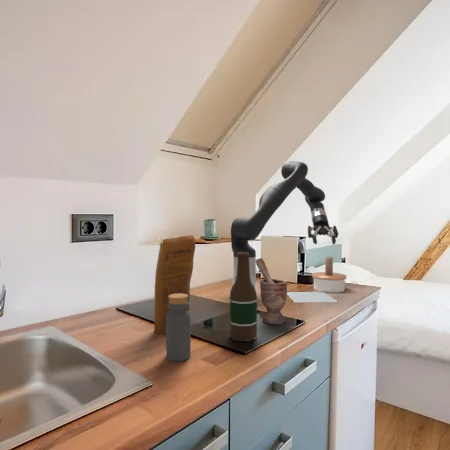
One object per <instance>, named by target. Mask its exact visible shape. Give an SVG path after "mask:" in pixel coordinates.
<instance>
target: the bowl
mask: <svg viewBox="0 0 450 450" xmlns="http://www.w3.org/2000/svg"><path fill="white" fill-rule="evenodd" d="M345 285H346V279H345V280H321V279H316V278H313V289H314V290H315V291H317V292H324V293H342V292H344V291H345V287H346V286H345Z"/></svg>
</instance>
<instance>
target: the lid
mask: <svg viewBox="0 0 450 450" xmlns="http://www.w3.org/2000/svg"><path fill="white" fill-rule="evenodd" d="M333 264H334V258H333V257H332V256H331V257H330V256H325V264H324V266H325V267H324V268H325V271H323V272H322V271H321V272H313V273H311V277H312V278H313V279H314V278H316V279H321V280H345V281H346V280H347V275H346V274H344V273H340V272H339V273H338V272H334V269H333V268H334V265H333Z"/></svg>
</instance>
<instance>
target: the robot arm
mask: <svg viewBox="0 0 450 450" xmlns="http://www.w3.org/2000/svg"><path fill="white" fill-rule="evenodd" d="M280 170H281V171H280V173H281V176H282V178H283V180H281V181H278V182H276V183H274V184H272V185H270V186H269V187H268V188H267V189H266V190H265V191H264V192H263V193H262V194H261V196H260V197H259V201H258V209H257V210H256V211H255V213H254V214H253V215H251V216H250V217H237V218H235V219H233V221H232V223H231V226H230V240H231V241H230V243H231V251H232V253H233V260H232V261H233V264H232V265H233V268H232V270H233V273H232V285H233V284H234V283H235V281H236V277H237V263H238V257H237V253H239V252H248V253H249V254H250V257H249V268H250V279H251V283H252V284H253V286H254V287H255V290H256V289H257V288H256V287H257V285H256V284H257V281H256V280H257V270H256V269H257V267H256V266H257V264H256V260H257V258H256V254H257V253H256V249H255V248H253V247H252V246H251V245H250V244H249V241H253V240H256V238H258V237H259V235H260V234H261V233H262V231H263V229H264V228H265V227H266V225H267V223H268V221H269V220H270V219H271V218H272V216H273V215H274V214H275V212H276V211H277V210H278V209H279V208H280V207H281V206H282V204H283V203H284V202H285V200H286V199H287V198H288V197H289V196H290V194H292V192H293V191H294V190H295V189H296V188H297V189H298V190H299V191H300V192H301V193H302V194H303V196H304V200H305V202H306V204H307V205H308V206H309V210H310V214H311V221H312V226H311V225H308V226H307V237H308V238H309V239H312V243H313V244H314V245H317V244H318V240H317V236H318V235H319V236H327V237H329V238H330V239H331V243H332V245H335V244H336V242H337V240H336V239H337V238H338V236H339V231H338V228H337V226H336V225H333V226H330V223H329V220H328V215H327V213H326V210H325V206H324V203H323V202H324V201H325V199H326V195H325V194H326V193H325V192H324V190H323V189H321V188H319V187H317V186H315V185H314V183H313V182H312V181H310V180H309V179H308V178H306V177H307V175H308V171H309V166H308V165H307V164H306V163H305V162H303V161H302V162H301V161H295V160H287V161H285V162H283V164H282V166H281V169H280ZM313 231H314V232H313ZM312 232H313V233H312ZM256 291H257V290H256Z"/></svg>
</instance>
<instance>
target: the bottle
mask: <svg viewBox="0 0 450 450" xmlns="http://www.w3.org/2000/svg"><path fill="white" fill-rule="evenodd" d="M168 297H169V303H168V308H169V309H170V311H169V312H168V313H167V314H166V333H165V341H166V343H165V346H166V347H165V348H166V349H165V352H166V357H165V358H166V359H167V360H168V361H170V362H183V361H184V362H185V361H186V360H189V359H190V357H191V322H190V321H191V312H190V310H189V311H187V310H186V308H188V307H189V308H190V302H189V303H188V302H187V298H188V295H187V294H181V293H178V294H171V295H169V296H168Z"/></svg>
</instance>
